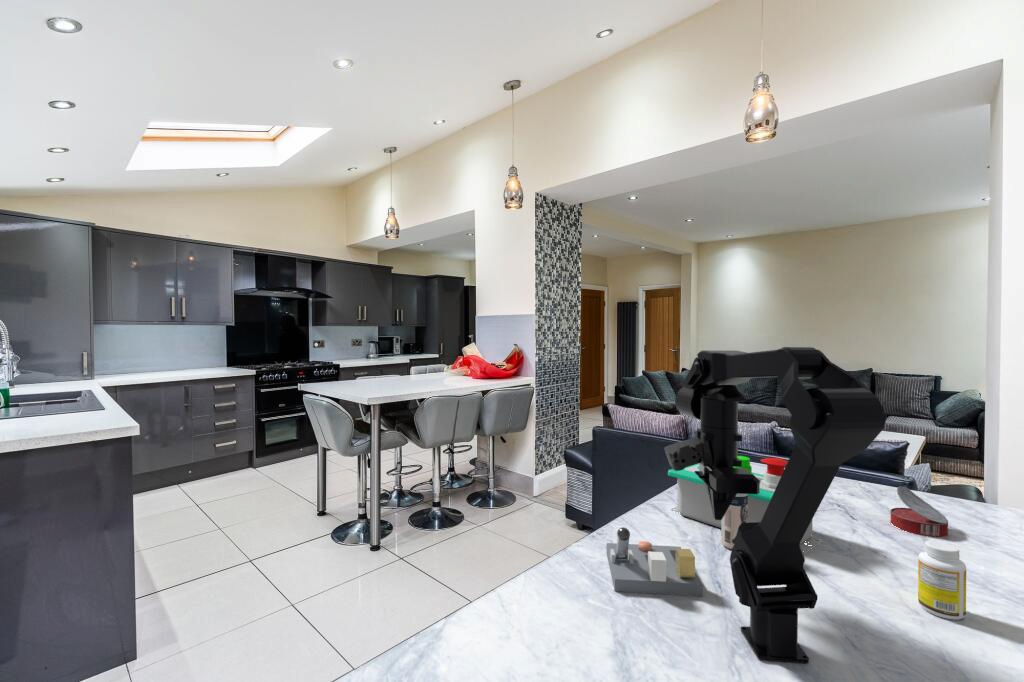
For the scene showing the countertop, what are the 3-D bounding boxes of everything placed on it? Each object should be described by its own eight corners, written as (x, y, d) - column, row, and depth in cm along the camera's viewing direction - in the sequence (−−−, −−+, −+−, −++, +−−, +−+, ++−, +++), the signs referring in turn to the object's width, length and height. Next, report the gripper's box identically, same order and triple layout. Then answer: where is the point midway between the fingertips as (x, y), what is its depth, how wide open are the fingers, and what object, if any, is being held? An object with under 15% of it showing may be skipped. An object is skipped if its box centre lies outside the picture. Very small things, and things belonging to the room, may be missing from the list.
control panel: (697, 436, 124) (828, 460, 101) (696, 499, 125) (827, 538, 101) (663, 444, 115) (799, 472, 92) (663, 512, 115) (798, 558, 92)
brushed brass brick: (694, 578, 79) (694, 557, 79) (679, 577, 79) (680, 556, 79) (689, 569, 82) (690, 549, 82) (675, 568, 82) (675, 548, 82)
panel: (701, 596, 78) (702, 575, 78) (614, 591, 79) (614, 570, 79) (680, 556, 92) (680, 539, 92) (606, 553, 93) (606, 535, 93)
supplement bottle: (939, 600, 77) (940, 537, 77) (976, 620, 72) (977, 553, 72) (908, 602, 77) (909, 538, 77) (942, 622, 71) (943, 554, 71)
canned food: (916, 541, 111) (934, 503, 112) (952, 556, 101) (972, 514, 102) (869, 516, 112) (887, 478, 113) (900, 528, 102) (920, 487, 103)
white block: (666, 581, 78) (666, 560, 78) (651, 580, 78) (651, 559, 78) (662, 572, 81) (662, 552, 81) (647, 571, 81) (648, 551, 81)
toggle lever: (628, 563, 85) (631, 534, 82) (615, 562, 85) (618, 534, 82) (626, 553, 87) (629, 524, 84) (614, 552, 87) (616, 524, 84)
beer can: (750, 553, 94) (750, 492, 94) (724, 550, 95) (724, 490, 94) (743, 542, 98) (744, 484, 98) (718, 540, 99) (719, 483, 99)
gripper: (657, 415, 89) (656, 498, 89) (683, 435, 71) (682, 540, 71) (719, 416, 88) (718, 500, 88) (761, 438, 70) (760, 544, 70)
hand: (717, 519), depth 79 cm, fingers closed
